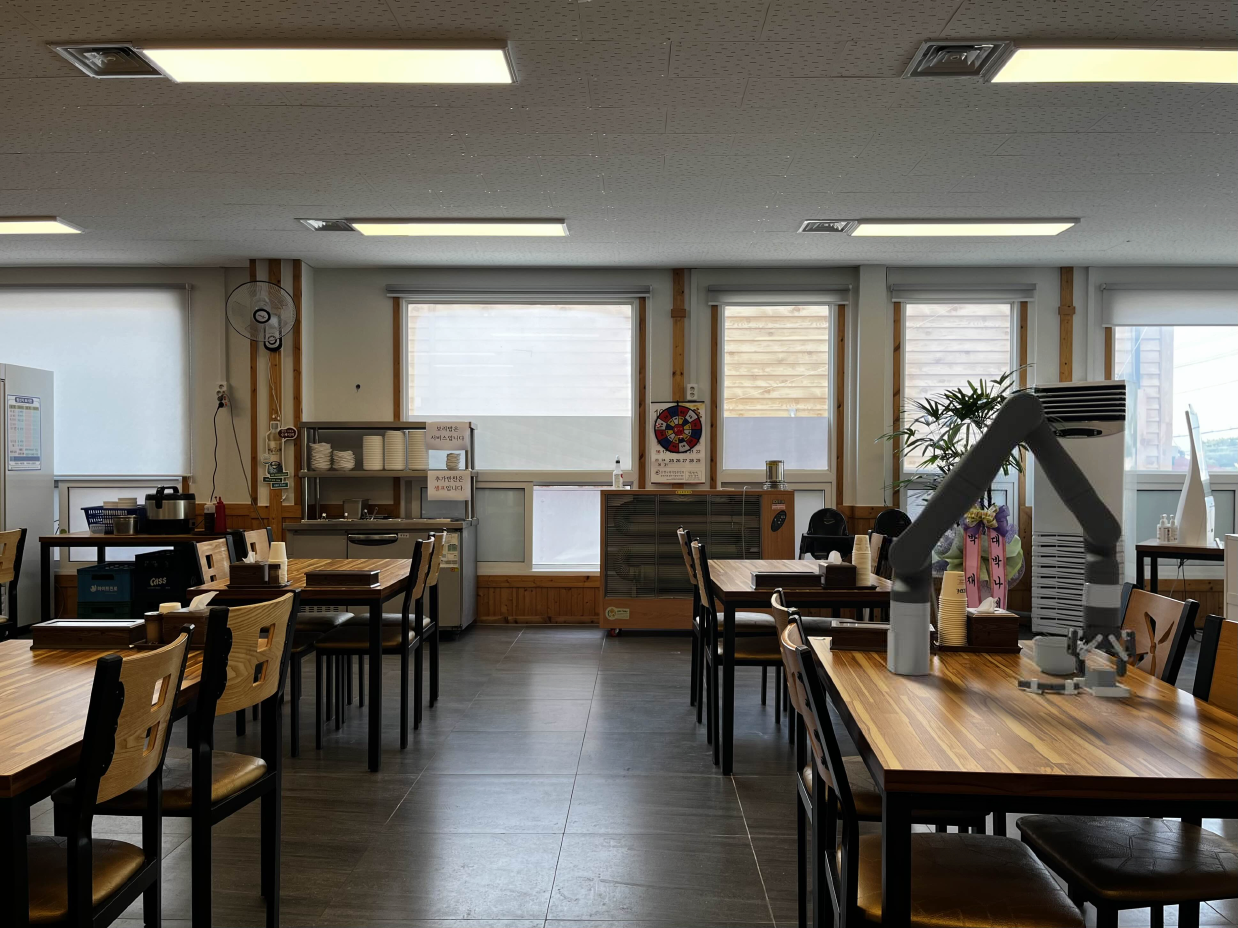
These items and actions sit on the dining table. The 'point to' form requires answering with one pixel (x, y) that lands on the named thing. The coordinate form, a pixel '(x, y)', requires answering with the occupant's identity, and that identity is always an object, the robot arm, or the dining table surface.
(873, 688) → the dining table surface
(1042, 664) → the teacup
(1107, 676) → the connector
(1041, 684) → the cable run
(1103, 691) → the end holder
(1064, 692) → the clips
